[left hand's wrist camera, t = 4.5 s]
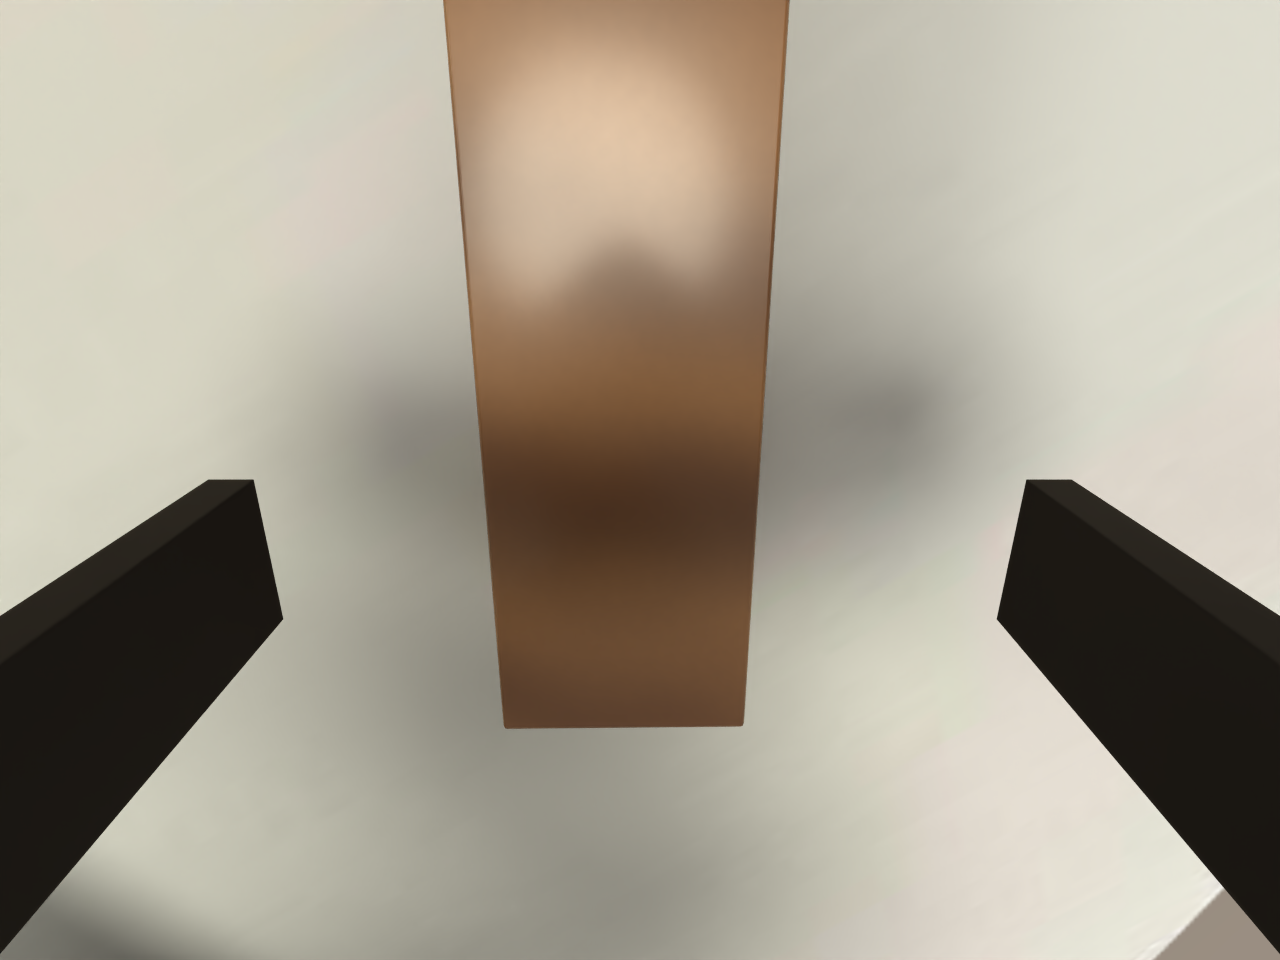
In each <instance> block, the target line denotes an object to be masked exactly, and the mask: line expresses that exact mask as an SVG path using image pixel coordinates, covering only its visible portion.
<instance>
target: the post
mask: <svg viewBox="0 0 1280 960" xmlns="http://www.w3.org/2000/svg"><path fill="white" fill-rule="evenodd" d="M789 2H790V0H443V4H444V16H445V28H446V40H447V52H448V64H449V76H450V88H451V100H452V112H453V124H454V136H455V148H456V160H457V172H458V184H459V196H460V208H461V220H462V232H463V244H464V256H465V268H466V280H467V292H468V304H469V316H470V328H471V340H472V352H473V364H474V376H475V388H476V400H477V412H478V424H479V436H480V448H481V460H482V472H483V484H484V495H485V507H486V519H487V531H488V543H489V555H490V567H491V579H492V591H493V603H494V615H495V627H496V639H497V651H498V663H499V675H500V687H501V699H502V711H503V723H504V727H505V728H507V729H525V728H628V727H732V726H743V723H744V712H745V697H746V681H747V665H748V649H749V634H750V618H751V602H752V586H753V570H754V555H755V539H756V523H757V507H758V491H759V476H760V460H761V444H762V428H763V413H764V397H765V381H766V365H767V349H768V334H769V318H770V302H771V286H772V270H773V255H774V239H775V223H776V207H777V192H778V176H779V160H780V144H781V128H782V113H783V97H784V81H785V65H786V49H787V34H788V18H789Z"/></svg>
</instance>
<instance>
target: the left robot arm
mask: <svg viewBox="0 0 1280 960" xmlns="http://www.w3.org/2000/svg"><path fill="white" fill-rule="evenodd" d="M282 620H283V616H282V611H281V606H280V602H279V597H278V592H277V587H276V583H275V578H274V573H273V569H272V564H271V559H270V555H269V550H268V545H267V540H266V536H265V531H264V526H263V522H262V517H261V512H260V508H259V503H258V498H257V494H256V489H255V484H254V480H207V481H206V482H204V483H203V484H201V485H200V486H198V487H196V488H195V489H193V490H192V491H190V492H189V493H187V494H186V495H184V496H183V497H181V498H180V499H178V500H177V501H175V502H174V503H172V504H170V505H169V506H167V507H166V508H164V509H163V510H161V511H160V512H158V513H157V514H155V515H154V516H152V517H151V518H149V519H148V520H146V521H145V522H143V523H141V524H140V525H138V526H137V527H135V528H134V529H132V530H131V531H129V532H128V533H126V534H125V535H123V536H122V537H120V538H119V539H117V540H115V541H114V542H112V543H111V544H109V545H108V546H106V547H105V548H103V549H102V550H100V551H99V552H97V553H96V554H94V555H93V556H91V557H90V558H88V559H86V560H85V561H83V562H82V563H80V564H79V565H77V566H76V567H74V568H73V569H71V570H70V571H68V572H67V573H65V574H64V575H62V576H60V577H59V578H57V579H56V580H54V581H53V582H51V583H50V584H48V585H47V586H45V587H44V588H42V589H41V590H39V591H38V592H36V593H35V594H33V595H31V596H30V597H28V598H27V599H25V600H24V601H22V602H21V603H19V604H18V605H16V606H15V607H13V608H12V609H10V610H9V611H7V612H6V613H4V614H2V615H1V616H0V953H1V952H2V951H3V950H4V949H5V948H6V946H7V945H8V944H9V943H10V942H11V940H12V939H13V938H14V937H15V936H16V935H17V933H18V932H19V931H20V930H21V929H22V927H23V926H24V925H25V924H26V923H27V922H28V920H29V919H30V918H31V917H32V916H33V914H34V913H35V912H36V911H37V910H38V909H39V907H40V906H41V905H42V904H43V903H44V901H45V900H46V899H47V898H48V897H49V896H50V894H51V893H52V892H53V891H54V890H55V888H56V887H57V886H58V885H59V884H60V883H61V881H62V880H63V879H64V878H65V877H66V875H67V874H68V873H69V872H70V871H71V870H72V868H73V867H74V866H75V865H76V864H77V862H78V861H79V860H80V859H81V858H82V856H83V855H84V854H85V853H86V852H87V851H88V849H89V848H90V847H91V846H92V845H93V843H94V842H95V841H96V840H97V839H98V838H99V836H100V835H101V834H102V833H103V832H104V830H105V829H106V828H107V827H108V826H109V825H110V823H111V822H112V821H113V820H114V819H115V817H116V816H117V815H118V814H119V813H120V812H121V810H122V809H123V808H124V807H125V806H126V804H127V803H128V802H129V801H130V800H131V799H132V797H133V796H134V795H135V794H136V793H137V791H138V790H139V789H140V788H141V787H142V786H143V784H144V783H145V782H146V781H147V780H148V778H149V777H150V776H151V775H152V774H153V773H154V771H155V770H156V769H157V768H158V767H159V765H160V764H161V763H162V762H163V761H164V760H165V758H166V757H167V756H168V755H169V754H170V752H171V751H172V750H173V749H174V748H175V747H176V745H177V744H178V743H179V742H180V741H181V739H182V738H183V737H184V736H185V735H186V733H187V732H188V731H189V730H190V729H191V728H192V726H193V725H194V724H195V723H196V722H197V720H198V719H199V718H200V717H201V716H202V715H203V713H204V712H205V711H206V710H207V709H208V707H209V706H210V705H211V704H212V703H213V702H214V700H215V699H216V698H217V697H218V696H219V694H220V693H221V692H222V691H223V690H224V689H225V687H226V686H227V685H228V684H229V683H230V681H231V680H232V679H233V678H234V677H235V676H236V674H237V673H238V672H239V671H240V670H241V668H242V667H243V666H244V665H245V664H246V663H247V661H248V660H249V659H250V658H251V657H252V655H253V654H254V653H255V652H256V651H257V650H258V648H259V647H260V646H261V645H262V644H263V642H264V641H265V640H266V639H267V638H268V637H269V635H270V634H271V633H272V632H273V631H274V629H275V628H276V627H277V626H278V625H279V624H280V622H281V621H282ZM997 620H998V621H999V622H1000V623H1001V625H1002V626H1003V627H1004V628H1005V629H1006V631H1007V632H1008V633H1009V634H1010V635H1011V637H1012V638H1013V639H1014V640H1015V641H1016V642H1017V644H1018V645H1019V646H1020V647H1021V648H1022V650H1023V651H1024V652H1025V653H1026V654H1027V655H1028V657H1029V658H1030V659H1031V660H1032V661H1033V663H1034V664H1035V665H1036V666H1037V667H1038V668H1039V670H1040V671H1041V672H1042V673H1043V674H1044V676H1045V677H1046V678H1047V679H1048V680H1049V681H1050V683H1051V684H1052V685H1053V686H1054V687H1055V689H1056V690H1057V691H1058V692H1059V693H1060V694H1061V696H1062V697H1063V698H1064V699H1065V700H1066V702H1067V703H1068V704H1069V705H1070V706H1071V707H1072V709H1073V710H1074V711H1075V712H1076V713H1077V715H1078V716H1079V717H1080V718H1081V719H1082V720H1083V722H1084V723H1085V724H1086V725H1087V726H1088V728H1089V729H1090V730H1091V731H1092V732H1093V733H1094V735H1095V736H1096V737H1097V738H1098V739H1099V741H1100V742H1101V743H1102V744H1103V745H1104V747H1105V748H1106V749H1107V750H1108V751H1109V752H1110V754H1111V755H1112V756H1113V757H1114V758H1115V760H1116V761H1117V762H1118V763H1119V764H1120V765H1121V767H1122V768H1123V769H1124V770H1125V771H1126V773H1127V774H1128V775H1129V776H1130V777H1131V778H1132V780H1133V781H1134V782H1135V783H1136V784H1137V786H1138V787H1139V788H1140V789H1141V790H1142V791H1143V793H1144V794H1145V795H1146V796H1147V797H1148V799H1149V800H1150V801H1151V802H1152V803H1153V804H1154V806H1155V807H1156V808H1157V809H1158V810H1159V812H1160V813H1161V814H1162V815H1163V816H1164V817H1165V819H1166V820H1167V821H1168V822H1169V823H1170V825H1171V826H1172V827H1173V828H1174V829H1175V830H1176V832H1177V833H1178V834H1179V835H1180V836H1181V838H1182V839H1183V840H1184V841H1185V842H1186V843H1187V845H1188V846H1189V847H1190V848H1191V849H1192V851H1193V852H1194V853H1195V854H1196V855H1197V856H1198V858H1199V859H1200V860H1201V861H1202V862H1203V864H1204V865H1205V866H1206V867H1207V868H1208V870H1209V871H1210V872H1211V873H1212V874H1213V875H1214V877H1215V878H1216V879H1217V880H1218V881H1219V883H1220V884H1221V885H1222V886H1223V887H1224V888H1225V890H1226V891H1227V892H1228V893H1229V894H1230V895H1231V897H1232V898H1233V899H1234V900H1235V901H1236V903H1237V904H1238V905H1239V906H1240V907H1241V909H1242V910H1243V911H1244V912H1245V913H1246V914H1247V916H1248V917H1249V918H1250V919H1251V920H1252V922H1253V923H1254V924H1255V925H1256V926H1257V927H1258V929H1259V930H1260V931H1261V932H1262V933H1263V934H1264V936H1265V937H1266V938H1267V939H1268V940H1269V942H1270V943H1271V944H1272V945H1273V946H1274V948H1275V949H1276V950H1277V951H1278V952H1279V953H1280V616H1279V615H1278V614H1276V613H1274V612H1273V611H1271V610H1270V609H1268V608H1267V607H1265V606H1264V605H1262V604H1261V603H1259V602H1258V601H1256V600H1255V599H1253V598H1252V597H1250V596H1249V595H1247V594H1245V593H1244V592H1242V591H1241V590H1239V589H1238V588H1236V587H1235V586H1233V585H1232V584H1230V583H1229V582H1227V581H1226V580H1224V579H1223V578H1221V577H1220V576H1218V575H1216V574H1215V573H1213V572H1212V571H1210V570H1209V569H1207V568H1206V567H1204V566H1203V565H1201V564H1200V563H1198V562H1197V561H1195V560H1194V559H1192V558H1190V557H1189V556H1187V555H1186V554H1184V553H1183V552H1181V551H1180V550H1178V549H1177V548H1175V547H1174V546H1172V545H1171V544H1169V543H1168V542H1166V541H1165V540H1163V539H1161V538H1160V537H1158V536H1157V535H1155V534H1154V533H1152V532H1151V531H1149V530H1148V529H1146V528H1145V527H1143V526H1142V525H1140V524H1139V523H1137V522H1135V521H1134V520H1132V519H1131V518H1129V517H1128V516H1126V515H1125V514H1123V513H1122V512H1120V511H1119V510H1117V509H1116V508H1114V507H1113V506H1111V505H1110V504H1108V503H1106V502H1105V501H1103V500H1102V499H1100V498H1099V497H1097V496H1096V495H1094V494H1093V493H1091V492H1090V491H1088V490H1087V489H1085V488H1084V487H1082V486H1080V485H1079V484H1077V483H1076V482H1074V481H1073V480H1026V484H1025V489H1024V494H1023V498H1022V503H1021V508H1020V512H1019V517H1018V522H1017V526H1016V531H1015V536H1014V540H1013V545H1012V550H1011V555H1010V559H1009V564H1008V569H1007V573H1006V578H1005V583H1004V587H1003V592H1002V597H1001V602H1000V606H999V611H998V616H997Z"/></svg>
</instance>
